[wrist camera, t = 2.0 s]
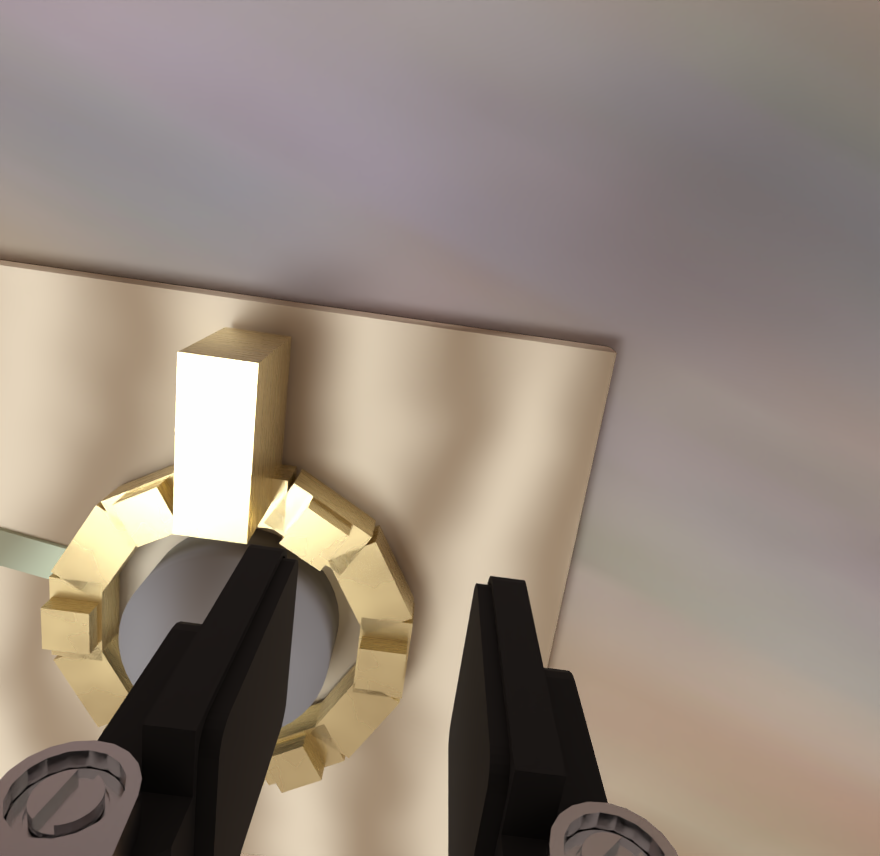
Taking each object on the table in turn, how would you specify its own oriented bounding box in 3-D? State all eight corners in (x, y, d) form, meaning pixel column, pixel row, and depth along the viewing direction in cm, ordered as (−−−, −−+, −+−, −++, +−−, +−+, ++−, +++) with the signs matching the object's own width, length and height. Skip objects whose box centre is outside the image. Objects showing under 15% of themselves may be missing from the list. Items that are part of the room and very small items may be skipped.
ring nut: (450, 358, 25) (451, 390, 21) (389, 773, 31) (379, 869, 26) (64, 303, 25) (-21, 324, 20) (73, 734, 30) (8, 825, 26)
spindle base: (609, 346, 27) (634, 368, 23) (497, 861, 34) (503, 938, 31) (-78, 248, 26) (-164, 254, 22) (-34, 798, 34) (-93, 869, 30)
